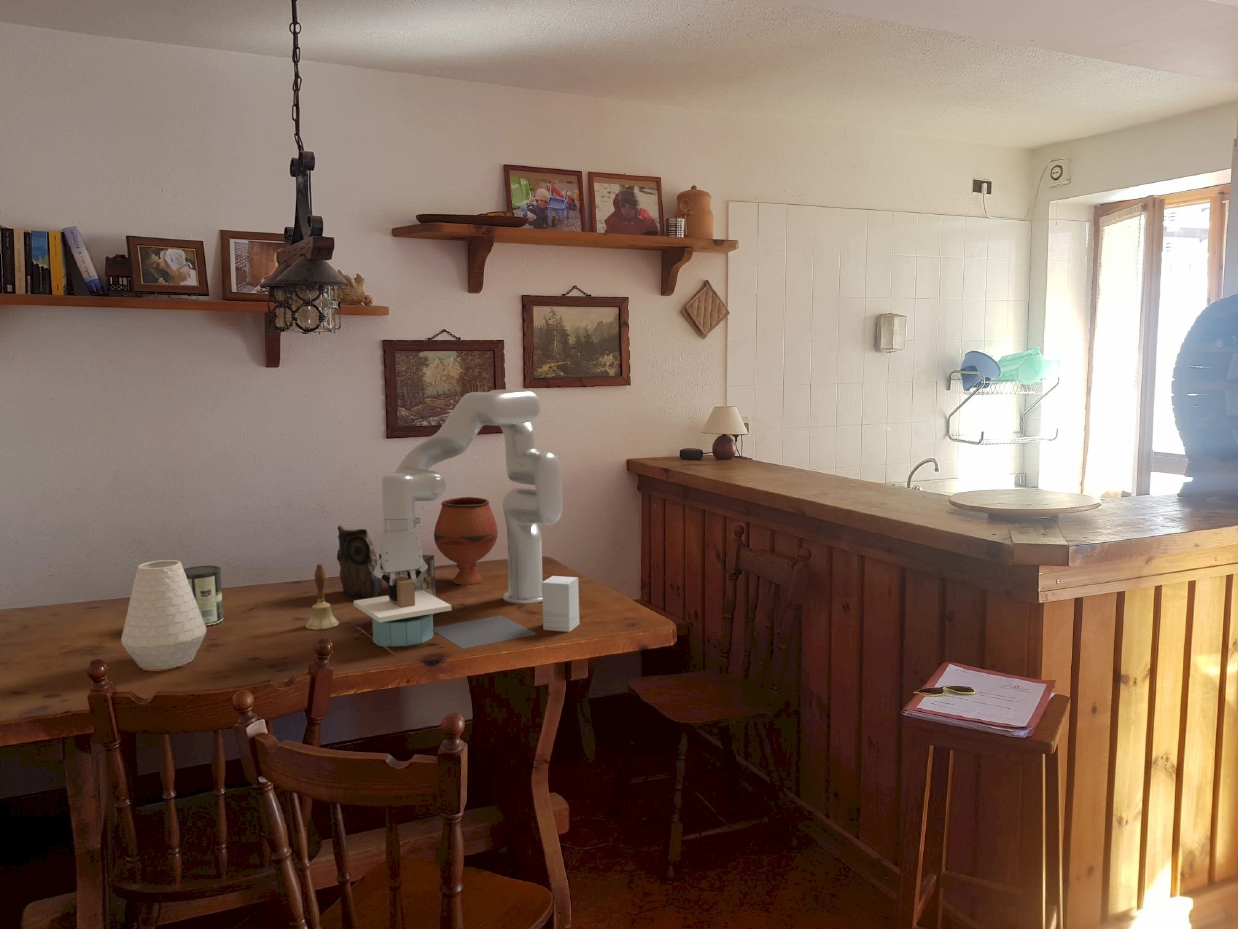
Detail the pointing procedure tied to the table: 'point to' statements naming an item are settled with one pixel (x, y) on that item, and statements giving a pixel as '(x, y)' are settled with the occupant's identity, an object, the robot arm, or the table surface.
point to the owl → (357, 563)
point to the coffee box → (425, 577)
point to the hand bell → (321, 606)
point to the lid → (402, 603)
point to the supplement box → (560, 603)
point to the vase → (162, 617)
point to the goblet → (465, 535)
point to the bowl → (403, 631)
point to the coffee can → (207, 591)
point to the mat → (482, 631)
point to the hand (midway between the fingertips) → (401, 598)
